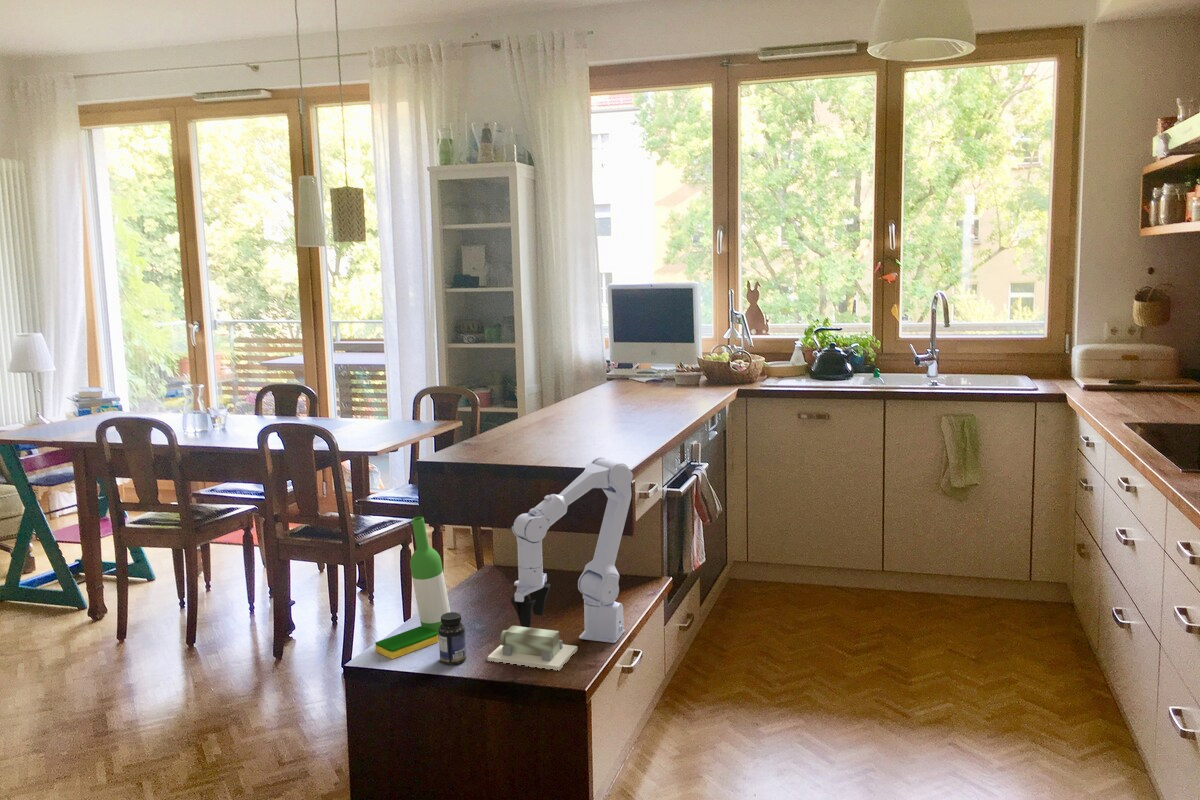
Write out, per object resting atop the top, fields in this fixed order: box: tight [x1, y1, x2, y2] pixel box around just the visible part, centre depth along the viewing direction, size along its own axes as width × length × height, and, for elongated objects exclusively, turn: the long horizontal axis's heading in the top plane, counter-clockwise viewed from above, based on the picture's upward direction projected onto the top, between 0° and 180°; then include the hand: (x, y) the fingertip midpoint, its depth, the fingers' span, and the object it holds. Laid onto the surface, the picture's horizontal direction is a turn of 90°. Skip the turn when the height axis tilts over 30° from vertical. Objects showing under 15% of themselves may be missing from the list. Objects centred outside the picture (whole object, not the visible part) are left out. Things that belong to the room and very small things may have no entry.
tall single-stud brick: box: [499, 625, 560, 658], centre depth 231 cm, size 14×4×5 cm, turn 71°
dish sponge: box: [374, 625, 439, 660], centre depth 238 cm, size 7×14×2 cm, turn 137°
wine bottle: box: [409, 516, 451, 635], centre depth 243 cm, size 8×8×30 cm
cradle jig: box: [486, 639, 578, 672], centre depth 231 cm, size 18×12×3 cm, turn 71°
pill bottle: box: [438, 611, 467, 666], centre depth 229 cm, size 6×6×11 cm
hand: (532, 620), depth 230 cm, fingers open, 7 cm apart
